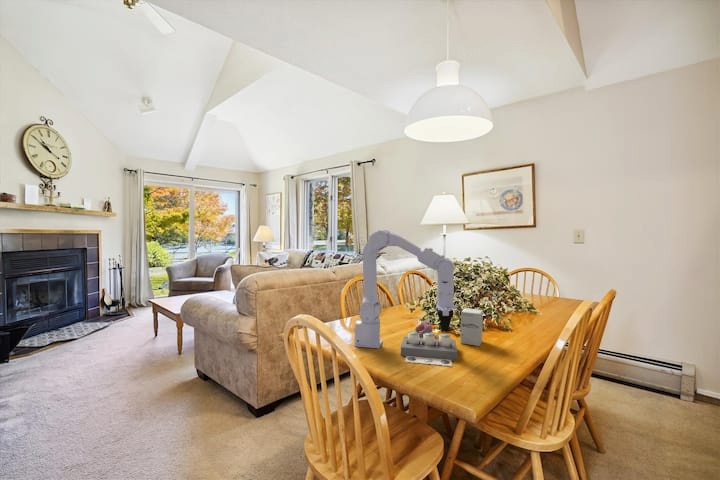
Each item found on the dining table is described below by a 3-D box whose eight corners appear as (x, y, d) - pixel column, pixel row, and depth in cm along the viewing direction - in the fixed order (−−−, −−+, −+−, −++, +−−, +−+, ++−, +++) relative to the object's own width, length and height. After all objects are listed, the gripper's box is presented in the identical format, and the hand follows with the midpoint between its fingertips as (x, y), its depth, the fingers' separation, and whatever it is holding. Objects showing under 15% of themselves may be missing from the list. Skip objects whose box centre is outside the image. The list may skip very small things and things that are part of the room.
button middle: (423, 347, 117) (423, 335, 117) (423, 343, 121) (423, 332, 121) (434, 348, 116) (434, 336, 116) (434, 344, 120) (434, 333, 120)
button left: (407, 345, 118) (407, 334, 118) (408, 342, 122) (408, 331, 122) (418, 346, 117) (418, 335, 117) (419, 343, 121) (419, 331, 121)
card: (405, 362, 109) (405, 361, 109) (406, 356, 114) (406, 355, 114) (451, 366, 106) (451, 365, 106) (451, 360, 111) (451, 359, 111)
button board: (400, 355, 115) (400, 347, 115) (404, 344, 127) (404, 336, 126) (457, 360, 111) (457, 351, 110) (455, 348, 122) (455, 340, 122)
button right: (439, 348, 116) (439, 336, 116) (438, 344, 120) (439, 333, 120) (450, 349, 115) (450, 337, 115) (450, 345, 119) (450, 334, 119)
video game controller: (427, 342, 133) (435, 327, 133) (417, 337, 133) (425, 322, 133) (423, 335, 143) (430, 320, 143) (414, 330, 143) (421, 316, 143)
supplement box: (459, 343, 127) (460, 311, 127) (463, 338, 134) (463, 307, 134) (480, 346, 124) (480, 313, 124) (482, 341, 131) (483, 309, 130)
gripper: (458, 297, 109) (458, 338, 109) (455, 289, 123) (455, 325, 123) (436, 296, 110) (436, 336, 111) (436, 289, 124) (436, 324, 125)
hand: (445, 331), depth 117 cm, fingers closed
